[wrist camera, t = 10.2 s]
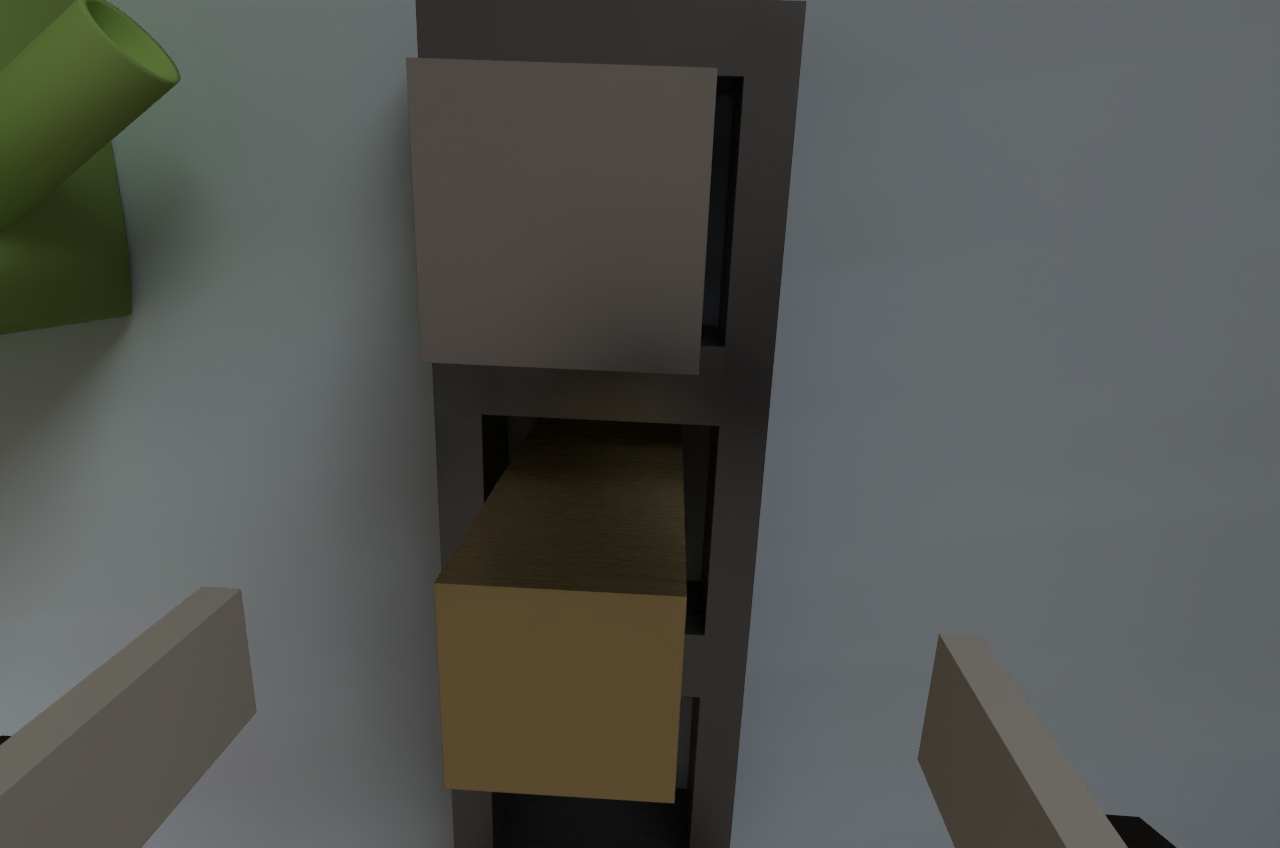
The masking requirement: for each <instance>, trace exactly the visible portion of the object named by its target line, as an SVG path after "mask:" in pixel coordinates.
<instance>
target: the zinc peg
mask: <svg viewBox="0 0 1280 848" xmlns="http://www.w3.org/2000/svg"><path fill="white" fill-rule="evenodd" d="M406 66H407V86H408V106H409V126H410V146H411V166H412V186H413V206H414V226H415V246H416V266H417V286H418V306H419V326H420V346H421V362H427V363H449V364H470V365H492V366H513V367H535V368H556V369H578V370H599V371H621V372H643V373H664V374H686V375H699V361H700V345H701V329H702V312H703V296H704V280H705V264H706V248H707V231H708V215H709V199H710V183H711V166H712V150H713V134H714V118H715V102H716V85H717V69H718V68H706V67H676V66H645V65H615V64H585V63H555V62H525V61H494V60H464V59H434V58H406Z"/></svg>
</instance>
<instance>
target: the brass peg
mask: <svg viewBox="0 0 1280 848" xmlns="http://www.w3.org/2000/svg"><path fill="white" fill-rule="evenodd" d="M434 592H435V612H436V632H437V651H438V671H439V691H440V710H441V730H442V750H443V769H444V789H458V790H474V791H489V792H505V793H521V794H536V795H552V796H567V797H583V798H599V799H614V800H630V801H645V802H661V803H674V801H675V785H676V768H677V751H678V735H679V718H680V701H681V685H682V668H683V652H684V635H685V618H686V602H687V587H686V550H685V514H684V478H683V442H682V424H669V423H648V422H628V421H607V420H586V419H565V418H544V417H538V418H537V420H536V422H535V423H534V425H533V426H532V428H531V430H530V431H529V433H528V434H527V436H526V437H525V439H524V441H523V442H522V444H521V445H520V447H519V449H518V450H517V452H516V453H515V455H514V457H513V458H512V460H511V461H510V463H509V465H508V466H507V468H506V469H505V471H504V473H503V474H502V476H501V477H500V479H499V480H498V482H497V484H496V485H495V487H494V488H493V490H492V492H491V493H490V495H489V496H488V498H487V500H486V501H485V503H484V504H483V506H482V508H481V509H480V511H479V512H478V514H477V516H476V517H475V519H474V520H473V522H472V523H471V525H470V527H469V528H468V530H467V531H466V533H465V535H464V536H463V538H462V539H461V541H460V543H459V544H458V546H457V547H456V549H455V551H454V552H453V554H452V555H451V557H450V559H449V560H448V562H447V563H446V565H445V566H444V568H443V570H442V571H441V573H440V574H439V576H438V578H437V579H436V581H435V582H434Z"/></svg>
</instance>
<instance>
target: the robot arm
mask: <svg viewBox="0 0 1280 848" xmlns="http://www.w3.org/2000/svg"><path fill="white" fill-rule="evenodd" d="M255 713H256V704H255V696H254V688H253V680H252V672H251V664H250V657H249V649H248V641H247V633H246V625H245V617H244V609H243V601H242V594H241V589H230V588H215V587H201V588H200V589H198V590H197V591H196V592H195V593H193V594H192V595H191V596H190V597H188V598H187V599H186V600H184V601H183V602H182V603H181V604H179V605H178V606H177V607H176V608H174V609H173V610H172V611H170V612H169V613H168V614H167V615H165V616H164V617H163V618H162V619H160V620H159V621H158V622H156V623H155V624H154V625H153V626H151V627H150V628H149V629H148V630H146V631H145V632H144V633H142V634H141V635H140V636H139V637H137V638H136V639H135V640H134V641H132V642H131V643H130V644H128V645H127V646H126V647H125V648H123V649H122V650H121V651H120V652H118V653H117V654H116V655H114V656H113V657H112V658H111V659H109V660H108V661H107V662H106V663H104V664H103V665H102V666H100V667H99V668H98V669H97V670H95V671H94V672H93V673H92V674H90V675H89V676H88V677H86V678H85V679H84V680H83V681H81V682H80V683H79V684H78V685H76V686H75V687H74V688H72V689H71V690H70V691H69V692H67V693H66V694H65V695H64V696H62V697H61V698H60V699H58V700H57V701H56V702H55V703H53V704H52V705H51V706H50V707H48V708H47V709H46V710H44V711H43V712H42V713H41V714H39V715H38V716H37V717H36V718H34V719H33V720H32V721H30V722H29V723H28V724H27V725H25V726H24V727H23V728H22V729H20V730H19V731H18V732H16V733H15V734H14V735H13V736H0V848H141V847H142V846H143V845H144V844H145V843H146V842H147V840H148V839H149V838H150V837H151V836H152V834H153V833H154V832H155V831H156V830H157V829H158V827H159V826H160V825H161V824H162V823H163V821H164V820H165V819H166V818H167V817H168V816H169V814H170V813H171V812H172V811H173V810H174V809H175V807H176V806H177V805H178V804H179V803H180V801H181V800H182V799H183V798H184V797H185V796H186V794H187V793H188V792H189V791H190V790H191V789H192V787H193V786H194V785H195V784H196V783H197V781H198V780H199V779H200V778H201V777H202V776H203V774H204V773H205V772H206V771H207V770H208V768H209V767H210V766H211V765H212V764H213V763H214V761H215V760H216V759H217V758H218V757H219V756H220V754H221V753H222V752H223V751H224V750H225V748H226V747H227V746H228V745H229V744H230V743H231V741H232V740H233V739H234V738H235V737H236V735H237V734H238V733H239V732H240V731H241V730H242V728H243V727H244V726H245V725H246V724H247V723H248V721H249V720H250V719H251V718H252V717H253V715H254V714H255ZM918 761H919V763H920V766H921V768H922V770H923V773H924V775H925V777H926V780H927V782H928V785H929V787H930V789H931V792H932V794H933V796H934V799H935V801H936V804H937V806H938V808H939V811H940V813H941V815H942V818H943V820H944V823H945V825H946V827H947V830H948V832H949V834H950V837H951V839H952V842H953V844H954V846H955V848H1176V847H1175V846H1174V845H1173V844H1171V843H1170V842H1169V841H1168V840H1166V839H1165V838H1164V837H1163V836H1162V835H1160V834H1159V833H1158V832H1157V831H1156V830H1154V829H1153V828H1152V827H1151V826H1149V825H1148V824H1147V823H1146V822H1145V821H1143V820H1142V819H1141V818H1140V817H1132V816H1118V815H1105V814H1104V812H1103V811H1102V810H1101V808H1100V807H1099V805H1098V804H1097V802H1096V801H1095V799H1094V798H1093V797H1092V795H1091V794H1090V792H1089V791H1088V789H1087V788H1086V786H1085V785H1084V784H1083V782H1082V781H1081V779H1080V778H1079V776H1078V775H1077V773H1076V772H1075V771H1074V769H1073V768H1072V766H1071V765H1070V763H1069V762H1068V760H1067V759H1066V757H1065V756H1064V755H1063V753H1062V752H1061V750H1060V749H1059V747H1058V746H1057V744H1056V743H1055V742H1054V740H1053V739H1052V737H1051V736H1050V734H1049V733H1048V731H1047V730H1046V729H1045V727H1044V726H1043V724H1042V723H1041V721H1040V720H1039V718H1038V717H1037V716H1036V714H1035V713H1034V711H1033V710H1032V708H1031V707H1030V705H1029V704H1028V702H1027V701H1026V700H1025V698H1024V697H1023V695H1022V694H1021V692H1020V691H1019V689H1018V688H1017V687H1016V685H1015V684H1014V682H1013V681H1012V679H1011V678H1010V676H1009V675H1008V674H1007V672H1006V671H1005V669H1004V668H1003V666H1002V665H1001V663H1000V662H999V661H998V659H997V658H996V656H995V655H994V653H993V652H992V650H991V649H990V647H989V646H988V645H987V643H986V642H985V640H984V639H983V637H982V636H970V635H954V634H939V637H938V643H937V649H936V655H935V661H934V666H933V672H932V678H931V684H930V690H929V696H928V702H927V707H926V713H925V719H924V725H923V731H922V737H921V743H920V748H919V754H918Z"/></svg>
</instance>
